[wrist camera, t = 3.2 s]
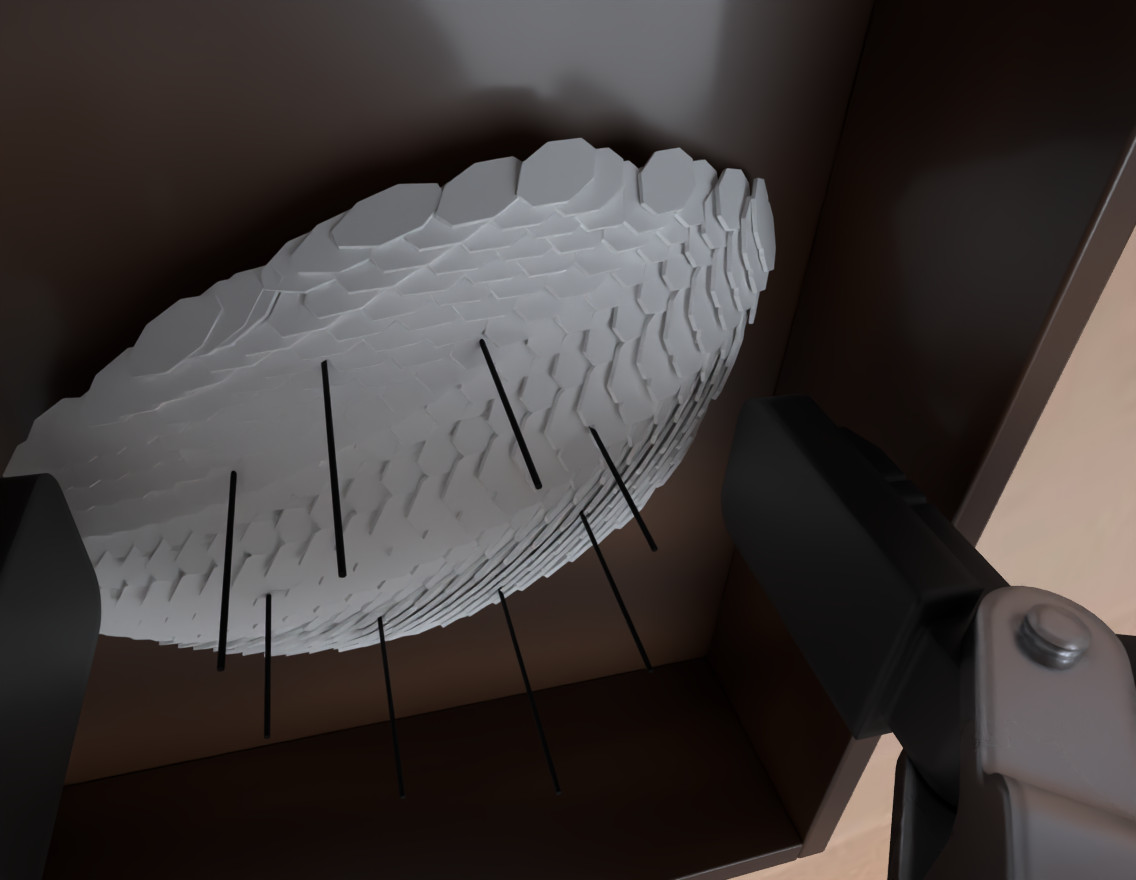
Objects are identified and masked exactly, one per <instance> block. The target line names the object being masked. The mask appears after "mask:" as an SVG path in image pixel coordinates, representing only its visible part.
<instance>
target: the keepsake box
mask: <svg viewBox="0 0 1136 880" xmlns="http://www.w3.org/2000/svg"><path fill="white" fill-rule="evenodd" d="M575 138H582V139H584V140H585V141H586V142H588V143H589V144H590V145H591V146H593V147H594V148H595V149H600V148H608V147H609V148H610V149H611V150H613V151H614V152H615V153H616V154H618V155H619V156H620V157H621V158H623V161H630V162H631V163H632V164H634V165H635V166H636V167H637V168H638V169H639V168H640V167H644V165H645V164H646V163H647V161H648V160H649V158H650V157H651V155H652V154H653V153H654V152H656V151H662V150H668V149H673V148H681V149H682V150H683V151H684V152H685V153H686V154H688V155H689V156H690V157H691V158H692V159H693V161H698V160H706V161H707V162H708V163H709V164H710V165H711V166H712V167H713V168H714V169H715V170H716V171H717V177H718V180H719V177H720V175H721V173H722V171H723V170H724V169H727V168H729V169H741V170H742V172H743V174H744V175H745V177H746V179H747V181H748V182H749V188H750V196H751V194H752V187H753V179H755V178H760V179H764V182H765V186H766V190H767V194H768V202H769V203H770V206H771V210H772V214H773V219H774V232H775V245H776V251H775V262H774V270H771V271H769V273H768V278H767V283H766V289H765V290H763V291H760V293H759V298H758V304H757V309H756V314H755V318H754V322H753V324H749V316H750V309H751V308H750V309H749V313H748V317H747V321H746V325H745V329H744V338H743V341H742V344H741V347H740V349H739V352H738V355H737V358H736V360H735V363H734V365H733V368H732V370H731V372H730V374H729V376H728V378H727V380H726V383H725V385H724V387H723V389H722V391H721V393H720V394H719V396H718V397H717V399H716V400H714V399H712V398H711V400H710V402H709V404H708V408H707V412H706V414H705V416H704V418H703V420H702V421H701V423H700V425H699V428H698V431H697V435H696V436H695V438H694V440H693V442H692V444H691V445H690V447H689V449H688V451H687V452H686V454H685V456H684V458H683V459H682V461H681V462H680V464H679V465H678V466H677V468H676V469H675V470H674V472H673V473H672V474H671V476H670V477H669V478H668V480H667V481H666V482H665V483H664V485H662V486H660V487H658V488H657V487H656V489H655V490H654V492H653V493H652V495H651V496H650V498H649V499H648V501H647V502H646V504H645V505H644V507H643V508H642V509H641V510H640V511H639V513H640V515H641V517H642V519H643V521H644V523H645V525H646V527H647V528H648V530H649V532H650V534H651V536H652V538H653V540H654V542H655V544H656V546H657V547H658V550H657V551H656V552H653V551H652V550H651V548H650V546H649V544H648V542H647V540H646V538H645V536H644V534H643V533H642V531H641V529H640V527H639V525H638V523H637V521H636V519H635V517H633V518H632V519H631V520H630V521H629V522H628V523H627V524H625V525H624V526H623V527H622V528H621V529H614V530H613V531H612V532H611V533H610V534H609V535H608V536H607V537H605V538H604V539H603V540H602V541H601V542H600V543H599V544H598V546H599V548H600V551H601V553H602V555H603V557H604V560H605V562H606V564H607V566H608V569H609V571H610V573H611V575H612V578H613V580H614V582H615V584H616V587H617V589H618V591H619V593H620V596H621V598H622V600H623V602H624V605H625V607H626V609H627V611H628V614H629V616H630V618H631V620H632V623H633V625H634V627H635V629H636V632H637V634H638V636H639V638H640V641H641V643H642V645H643V647H644V650H645V652H646V654H647V656H648V659H649V661H650V663H651V665H652V668H653V670H654V671H653V672H652V673H648V671H647V668H646V666H645V664H644V662H643V659H642V657H641V655H640V652H639V650H638V648H637V646H636V643H635V641H634V639H633V636H632V634H631V632H630V629H629V627H628V625H627V623H626V620H625V618H624V616H623V613H622V611H621V609H620V607H619V604H618V602H617V600H616V597H615V595H614V593H613V591H612V588H611V586H610V584H609V581H608V579H607V577H606V575H605V572H604V570H603V568H602V565H601V563H600V561H599V558H598V556H597V554H596V552H595V549H594V547H593V545H592V546H591V547H590V548H588V549H587V550H586V551H585V552H584V553H583V554H581V555H580V556H579V557H578V558H577V559H576V560H575V561H573V562H570V561H568V562H567V563H566V564H564V565H563V566H562V567H561V568H559V569H558V570H557V571H555V572H554V573H553V574H552V575H550V576H549V577H548V578H547V577H545V576H541V577H540V578H539V579H537V580H536V581H535V582H533V583H532V584H531V585H529V586H528V587H527V588H526V589H524V590H523V591H520V590H518V589H517V590H516V591H515V592H513V593H512V594H510V595H509V596H507V597H506V598H505V601H506V604H507V608H508V611H509V615H510V618H511V621H512V625H513V628H514V632H515V635H516V639H517V642H518V645H519V649H520V652H521V656H522V659H523V662H524V666H525V669H526V673H527V676H528V679H529V683H530V686H531V690H532V693H533V697H534V700H535V703H536V707H537V710H538V714H539V717H540V720H541V724H542V727H543V731H544V734H545V737H546V741H547V744H548V748H549V751H550V755H551V758H552V761H553V765H554V768H555V772H556V775H557V778H558V782H559V785H560V789H561V792H562V793H561V794H560V795H556V792H555V788H554V785H553V781H552V778H551V774H550V771H549V767H548V764H547V760H546V757H545V753H544V750H543V746H542V743H541V739H540V736H539V732H538V729H537V725H536V722H535V718H534V715H533V711H532V708H531V705H530V701H529V698H528V694H527V691H526V687H525V684H524V680H523V677H522V673H521V670H520V666H519V663H518V659H517V656H516V652H515V649H514V645H513V642H512V638H511V635H510V631H509V628H508V624H507V621H506V617H505V614H504V610H503V607H502V603H501V601H500V602H499V603H498V604H494V603H491V604H489V605H487V606H486V607H484V608H482V609H481V610H479V611H478V612H476V613H475V614H473V615H472V616H470V617H469V616H466V617H463V618H459V619H457V620H455V621H454V622H452V623H450V624H449V625H447V626H445V627H444V628H443V627H442V626H441V625H438V626H436V627H433V628H431V629H429V630H426V631H424V632H421V633H419V634H416V635H409V636H402V637H399V638H396V639H394V640H391V641H389V640H388V641H385V645H386V653H387V660H388V668H389V675H390V683H391V691H392V698H393V706H394V713H395V721H396V729H397V736H398V744H399V751H400V759H401V767H402V774H403V782H404V789H405V798H404V799H400V795H399V787H398V779H397V771H396V763H395V755H394V747H393V739H392V731H391V723H390V715H389V707H388V699H387V691H386V683H385V675H384V667H383V659H382V651H381V643H377V644H374V645H370V646H367V647H360V648H356V649H351V650H347V651H343V652H339V651H338V649H335V650H334V648H331V649H327V650H323V651H319V652H315V653H311V654H309V652H306V653H301V654H296V655H290V656H286V654H285V655H278V656H271V725H270V738H269V739H264V688H265V657H264V653H265V652H261V653H255V654H250V655H245V656H243V652H241V653H234V654H226V658H225V670H224V671H222V672H219V671H217V658H218V651H216V652H213V648H209V649H199V650H193V646H192V647H186V648H178V644H181V643H177V644H169V645H159V641H154V640H151V639H144V640H134V639H132V638H130V637H115V636H106V635H105V634H99V636H98V640H97V645H96V649H95V653H94V657H93V662H92V666H91V670H90V675H89V679H88V683H87V687H86V692H85V696H84V700H83V705H82V709H81V713H80V717H79V722H78V726H77V730H76V735H75V739H74V743H73V747H72V752H71V756H70V760H69V765H68V769H67V773H66V777H65V782H64V786H63V790H62V794H61V799H60V803H59V807H58V812H57V816H56V820H55V824H54V829H53V833H52V837H51V842H50V846H49V850H48V854H47V859H46V863H45V867H44V872H43V876H42V880H727V879H730V878H734V877H737V876H741V875H744V874H748V873H752V872H755V871H759V870H762V869H766V868H769V867H773V866H776V865H780V864H783V863H787V862H791V861H794V860H796V859H797V857H798V858H803V857H806V856H810V855H813V854H817V853H821V852H823V851H824V850H825V848H826V846H827V844H828V842H829V840H830V838H831V836H832V834H833V832H834V830H835V828H836V826H837V824H838V822H839V820H840V818H841V816H842V814H843V812H844V810H845V808H846V806H847V804H848V802H849V800H850V798H851V796H852V794H853V792H854V789H855V787H856V785H857V783H858V781H859V779H860V777H861V775H862V773H863V771H864V769H865V767H866V765H867V763H868V761H869V759H870V757H871V755H872V753H873V751H874V749H875V747H876V745H877V743H878V741H879V739H880V737H881V735H879V736H875V737H870V738H866V739H862V740H857V741H856V740H855V738H854V737H853V735H852V733H851V732H850V730H849V729H848V727H847V725H846V724H845V722H844V720H843V719H842V717H841V716H840V714H839V712H838V711H837V709H836V707H835V706H834V704H833V703H832V701H831V699H830V698H829V696H828V695H827V693H826V691H825V690H824V688H823V686H822V685H821V683H820V682H819V680H818V678H817V677H816V675H815V673H814V672H813V670H812V669H811V667H810V665H809V664H808V662H807V661H806V659H805V657H804V656H803V654H802V652H801V651H800V649H799V648H798V646H797V644H796V643H795V641H794V639H793V638H792V636H791V635H790V633H789V631H788V630H787V628H786V627H785V625H784V623H783V622H782V620H781V618H780V617H779V615H778V614H777V612H776V610H775V609H774V607H773V605H772V604H771V602H770V601H769V599H768V597H767V596H766V594H765V593H764V591H763V589H762V588H761V586H760V584H759V583H758V581H757V580H756V578H755V576H754V575H753V573H752V571H751V570H750V568H749V567H748V565H747V563H746V562H745V560H744V559H743V557H742V555H741V554H740V552H739V550H738V549H737V547H736V546H735V544H734V542H733V541H732V539H731V537H730V536H729V534H728V532H727V529H726V526H725V523H724V520H723V515H722V509H721V491H722V485H723V481H724V477H725V472H726V468H727V463H728V459H729V454H730V450H731V446H732V441H733V437H734V432H735V428H736V424H737V419H738V415H739V412H740V409H741V407H742V405H743V404H744V402H745V401H747V400H749V399H753V398H762V397H771V396H781V395H790V394H800V393H803V394H806V395H808V396H810V397H811V398H812V399H813V400H814V401H815V402H816V403H817V404H818V406H819V407H820V408H821V409H822V410H823V411H824V412H825V413H826V414H827V415H828V417H829V418H830V419H831V420H832V421H833V422H834V423H835V424H836V425H837V427H844V426H845V427H846V428H848V429H850V430H851V431H853V432H855V433H856V434H858V435H859V436H861V437H863V438H864V439H866V440H868V441H869V442H871V443H873V444H874V445H876V446H878V447H879V448H881V449H882V450H883V451H884V453H885V454H886V455H887V456H888V457H889V458H890V459H891V460H892V461H893V462H894V463H895V464H896V465H897V466H898V467H899V468H900V469H901V471H902V472H903V473H904V474H905V478H906V480H907V481H909V480H911V481H912V482H913V483H914V484H915V485H916V486H917V487H918V489H919V490H920V491H921V492H922V493H923V494H924V495H925V496H926V501H927V503H933V504H934V505H935V506H936V508H937V509H938V510H939V511H940V512H941V513H942V514H943V515H944V516H945V517H946V518H947V519H948V520H949V521H950V522H951V523H952V524H953V526H954V527H955V528H956V529H957V530H958V531H959V532H960V533H961V534H962V535H963V536H964V537H965V538H966V539H967V540H968V541H969V542H970V544H971V545H972V546H973V547H974V548H975V547H976V545H977V543H978V541H979V539H980V537H981V535H982V533H983V531H984V529H985V527H986V525H987V523H988V521H989V519H990V517H991V515H992V513H993V510H994V508H995V506H996V504H997V502H998V500H999V498H1000V496H1001V494H1002V492H1003V490H1004V488H1005V486H1006V484H1007V482H1008V480H1009V478H1010V476H1011V474H1012V472H1013V470H1014V468H1015V466H1016V464H1017V462H1018V460H1019V458H1020V456H1021V454H1022V452H1023V450H1024V448H1025V446H1026V444H1027V442H1028V440H1029V438H1030V436H1031V434H1032V432H1033V430H1034V428H1035V426H1036V424H1037V422H1038V420H1039V418H1040V416H1041V414H1042V412H1043V410H1044V408H1045V406H1046V404H1047V402H1048V400H1049V398H1050V396H1051V394H1052V392H1053V390H1054V388H1055V386H1056V384H1057V382H1058V380H1059V378H1060V376H1061V374H1062V372H1063V370H1064V368H1065V366H1066V364H1067V362H1068V360H1069V358H1070V356H1071V354H1072V352H1073V350H1074V348H1075V346H1076V344H1077V342H1078V340H1079V338H1080V336H1081V334H1082V332H1083V330H1084V328H1085V326H1086V324H1087V322H1088V320H1089V318H1090V316H1091V314H1092V312H1093V310H1094V308H1095V306H1096V304H1097V302H1098V300H1099V298H1100V296H1101V294H1102V292H1103V290H1104V288H1105V286H1106V284H1107V282H1108V280H1109V278H1110V276H1111V274H1112V272H1113V270H1114V268H1115V266H1116V264H1117V262H1118V260H1119V258H1120V256H1121V254H1122V252H1123V250H1124V248H1125V246H1126V244H1127V242H1128V240H1129V238H1130V236H1131V234H1132V232H1133V229H1134V227H1135V225H1136V0H0V478H3V474H4V472H5V469H6V467H7V465H8V463H9V461H10V459H11V457H12V455H13V453H14V451H15V449H16V447H17V446H18V445H20V444H21V443H23V442H25V441H26V440H27V438H28V436H29V433H30V431H31V428H32V426H33V423H34V420H36V419H37V418H38V417H39V416H41V415H42V414H43V413H45V412H46V411H47V410H49V409H50V408H51V407H52V406H54V405H55V404H56V403H58V402H59V401H60V400H61V399H64V398H80V397H81V396H83V395H84V394H85V393H86V392H88V391H89V389H90V387H91V385H92V382H93V380H94V378H95V376H96V374H98V373H99V372H100V371H101V370H102V369H104V368H105V367H106V366H107V365H108V364H109V363H111V362H112V361H113V360H114V359H115V358H117V357H118V356H119V355H120V354H121V353H122V352H124V351H125V350H126V349H127V348H130V347H134V345H135V343H136V342H137V340H138V338H139V337H140V335H141V333H142V331H143V330H144V328H145V326H146V325H147V324H148V323H149V322H151V321H152V320H153V319H155V318H156V317H157V316H159V315H160V314H161V313H163V312H164V311H165V310H167V309H168V308H169V307H170V306H172V305H173V304H174V303H176V302H177V301H178V300H180V299H184V298H190V297H197V296H200V295H202V294H203V293H204V292H205V291H207V290H208V289H209V288H210V287H212V286H213V285H214V284H215V283H217V282H218V281H223V280H228V279H230V278H231V277H232V276H233V275H234V274H236V273H239V272H243V271H247V270H251V269H254V268H258V267H262V266H266V265H267V264H268V263H269V261H270V260H271V259H272V258H273V257H274V256H275V255H276V254H277V253H278V252H279V250H280V249H281V248H282V247H283V246H284V245H285V244H286V243H287V242H288V241H290V240H293V239H295V238H297V237H300V236H302V235H304V234H306V233H309V232H311V231H312V230H313V229H314V228H315V227H316V225H318V224H320V223H322V222H324V221H326V220H329V219H331V218H333V217H335V216H337V215H339V214H341V213H343V212H345V211H348V210H350V209H352V208H353V207H354V205H355V204H356V203H357V202H359V201H361V200H364V199H366V198H368V197H370V196H373V195H375V194H377V193H379V192H381V191H384V190H386V189H388V188H390V187H393V186H395V185H397V184H426V183H438V185H439V187H442V186H443V185H445V184H446V183H447V182H450V181H451V180H453V179H454V178H455V177H457V176H458V175H459V174H461V173H462V172H463V171H465V170H466V169H467V168H469V167H470V166H471V165H473V164H474V163H478V162H483V161H489V160H494V159H500V158H505V157H511V156H513V157H515V158H517V159H519V160H520V161H522V162H523V161H525V160H526V159H528V158H529V157H530V156H531V155H532V154H534V153H535V152H536V151H537V150H538V149H540V148H541V147H542V146H543V145H544V144H546V143H547V142H550V141H558V140H567V139H575ZM720 354H721V351H720ZM720 354H719V356H718V358H717V360H718V359H719V357H720ZM716 362H717V361H716ZM700 381H701V380H700ZM679 406H680V405H679ZM679 406H678V407H679ZM677 409H678V408H677ZM651 445H652V444H651ZM650 447H651V446H650ZM650 447H649V448H650ZM629 466H630V465H629ZM629 466H628V467H629ZM593 500H594V499H593ZM593 500H592V501H593ZM592 501H591V502H592ZM590 504H591V503H590ZM590 504H589V505H590ZM589 505H588V506H589ZM588 506H587V507H588ZM561 525H562V524H561ZM561 525H560V526H561ZM560 526H559V527H560ZM531 546H532V545H531ZM531 546H530V547H531ZM525 551H526V550H525ZM525 551H524V552H525ZM520 555H521V554H520ZM502 563H503V562H502ZM502 563H501V564H502ZM501 564H500V565H501ZM497 567H498V566H497ZM497 567H496V568H497ZM485 577H486V576H485ZM481 580H482V579H481ZM470 581H471V580H470ZM470 581H469V582H470ZM477 583H478V582H477ZM477 583H476V584H477ZM464 586H465V585H464ZM472 587H473V586H472ZM461 588H462V587H461ZM458 590H459V589H458ZM458 590H457V591H458ZM454 593H455V592H454ZM454 593H453V594H454ZM451 595H452V594H451ZM451 595H450V596H451ZM447 598H448V597H447ZM447 598H446V599H447ZM434 600H435V599H434ZM444 600H445V599H444ZM431 602H432V601H431ZM428 604H429V603H428ZM426 605H427V604H426ZM426 605H425V606H426ZM425 606H424V607H425ZM422 608H423V607H422ZM422 608H421V609H422ZM419 610H420V609H419ZM214 648H215V647H214Z"/></svg>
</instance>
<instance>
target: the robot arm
mask: <svg viewBox="0 0 1136 880" xmlns="http://www.w3.org/2000/svg"><path fill="white" fill-rule="evenodd" d="M721 509H722V515H723V520H724V523H725V526H726V529H727V532H728V534H729V536H730V537H731V539H732V541H733V542H734V544H735V546H736V547H737V549H738V550H739V552H740V554H741V555H742V557H743V559H744V560H745V562H746V563H747V565H748V567H749V568H750V570H751V571H752V573H753V575H754V576H755V578H756V580H757V581H758V583H759V584H760V586H761V588H762V589H763V591H764V593H765V594H766V596H767V597H768V599H769V601H770V602H771V604H772V605H773V607H774V609H775V610H776V612H777V614H778V615H779V617H780V618H781V620H782V622H783V623H784V625H785V627H786V628H787V630H788V631H789V633H790V635H791V636H792V638H793V639H794V641H795V643H796V644H797V646H798V648H799V649H800V651H801V652H802V654H803V656H804V657H805V659H806V661H807V662H808V664H809V665H810V667H811V669H812V670H813V672H814V673H815V675H816V677H817V678H818V680H819V682H820V683H821V685H822V686H823V688H824V690H825V691H826V693H827V695H828V696H829V698H830V699H831V701H832V703H833V704H834V706H835V707H836V709H837V711H838V712H839V714H840V716H841V717H842V719H843V720H844V722H845V724H846V725H847V727H848V729H849V730H850V732H851V733H852V735H853V737H854V738H855V740H856V741H857V740H862V739H866V738H870V737H875V736H879V735H883V734H887V733H892V732H893V733H894V735H895V736H896V738H897V739H898V741H899V742H900V744H901V745H902V747H903V750H902V751H901V753H900V755H899V758H898V760H897V764H896V771H895V785H894V798H893V811H892V824H891V838H890V851H889V864H888V878H887V880H1136V636H1131V635H1121V634H1115V633H1114V632H1113V631H1112V630H1111V629H1110V628H1109V627H1108V626H1107V625H1106V624H1105V623H1104V622H1103V621H1102V620H1100V619H1099V618H1098V617H1097V616H1096V615H1094V614H1093V613H1091V612H1090V611H1089V610H1087V609H1086V608H1084V607H1083V606H1081V605H1079V604H1077V603H1075V602H1074V601H1072V600H1070V599H1067V598H1065V597H1063V596H1061V595H1058V594H1055V593H1053V592H1050V591H1047V590H1043V589H1038V588H1034V587H1026V586H1010V585H1009V584H1008V583H1007V582H1006V581H1005V580H1004V578H1003V577H1002V576H1001V575H1000V574H999V573H998V572H997V571H996V570H995V569H994V568H993V567H992V566H991V565H990V564H989V563H988V562H987V560H986V559H985V558H984V557H983V556H982V555H981V554H980V553H979V552H978V551H977V550H976V549H975V548H974V547H973V546H972V545H971V544H970V542H969V541H968V540H967V539H966V538H965V537H964V536H963V535H962V534H961V533H960V532H959V531H958V530H957V529H956V528H955V527H954V526H953V524H952V523H951V522H950V521H949V520H948V519H947V518H946V517H945V516H944V515H943V514H942V513H941V512H940V511H939V510H938V509H937V508H936V506H935V505H934V504H933V503H927V501H926V496H925V495H924V494H923V493H922V492H921V491H920V490H919V489H918V487H917V486H916V485H915V484H914V483H913V482H912V481H911V480H909V481H907V480H906V478H905V474H904V473H903V472H902V471H901V469H900V468H899V467H898V466H897V465H896V464H895V463H894V462H893V461H892V460H891V459H890V458H889V457H888V456H887V455H886V454H885V453H884V451H883V450H882V449H881V448H879V447H878V446H876V445H874V444H873V443H871V442H869V441H868V440H866V439H864V438H863V437H861V436H859V435H858V434H856V433H855V432H853V431H851V430H850V429H848V428H846V427H845V426H844V427H837V425H836V424H835V423H834V422H833V421H832V420H831V419H830V418H829V417H828V415H827V414H826V413H825V412H824V411H823V410H822V409H821V408H820V407H819V406H818V404H817V403H816V402H815V401H814V400H813V399H812V398H811V397H810V396H808V395H806V394H803V393H800V394H790V395H781V396H771V397H762V398H753V399H749V400H747V401H745V402H744V404H743V405H742V407H741V409H740V412H739V415H738V419H737V424H736V428H735V432H734V437H733V441H732V446H731V450H730V454H729V459H728V463H727V468H726V472H725V477H724V481H723V485H722V491H721ZM100 625H101V596H100V589H99V583H98V580H97V576H96V573H95V570H94V568H93V565H92V563H91V560H90V558H89V556H88V553H87V551H86V548H85V546H84V543H83V541H82V538H81V536H80V533H79V531H78V528H77V526H76V524H75V521H74V519H73V516H72V514H71V511H70V509H69V506H68V504H67V501H66V499H65V496H64V494H63V492H62V489H61V487H60V485H59V483H58V482H57V480H56V479H55V478H54V477H53V476H52V475H51V474H49V473H40V474H31V475H22V476H12V477H3V478H0V880H42V876H43V872H44V867H45V863H46V859H47V854H48V850H49V846H50V842H51V837H52V833H53V829H54V824H55V820H56V816H57V812H58V807H59V803H60V799H61V794H62V790H63V786H64V782H65V777H66V773H67V769H68V765H69V760H70V756H71V752H72V747H73V743H74V739H75V735H76V730H77V726H78V722H79V717H80V713H81V709H82V705H83V700H84V696H85V692H86V687H87V683H88V679H89V675H90V670H91V666H92V662H93V657H94V653H95V649H96V645H97V640H98V636H99V631H100Z"/></svg>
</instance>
